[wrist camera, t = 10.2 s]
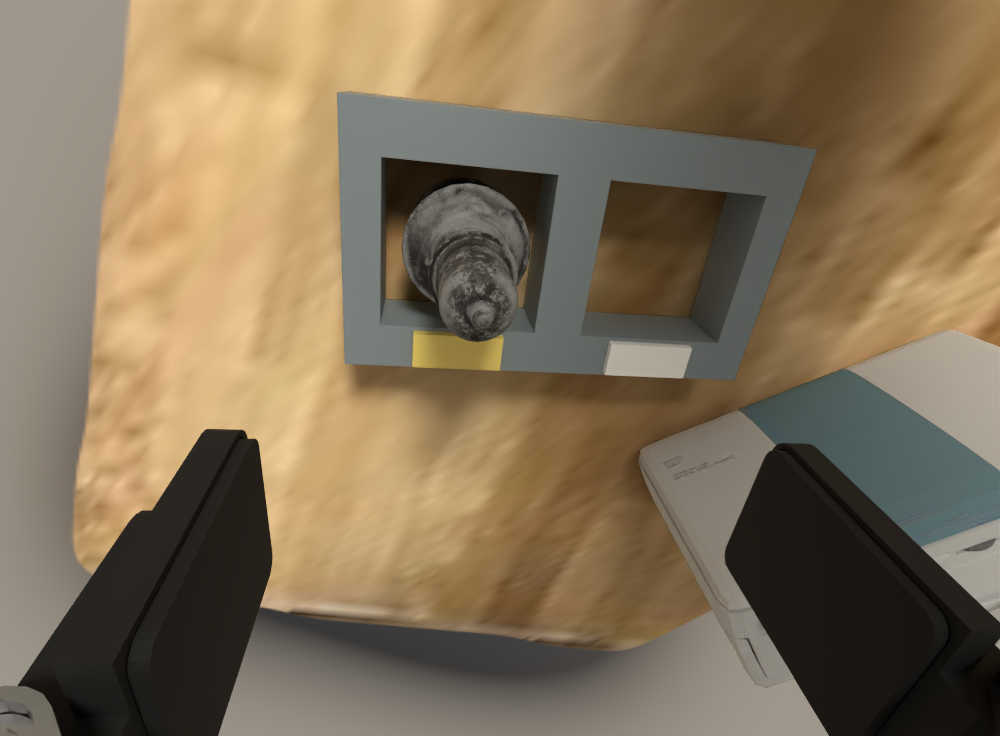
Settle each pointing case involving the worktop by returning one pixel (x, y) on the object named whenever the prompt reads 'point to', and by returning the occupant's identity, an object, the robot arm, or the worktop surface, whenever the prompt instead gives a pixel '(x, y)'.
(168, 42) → the worktop surface
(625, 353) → the socket board
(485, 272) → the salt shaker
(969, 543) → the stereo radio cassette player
